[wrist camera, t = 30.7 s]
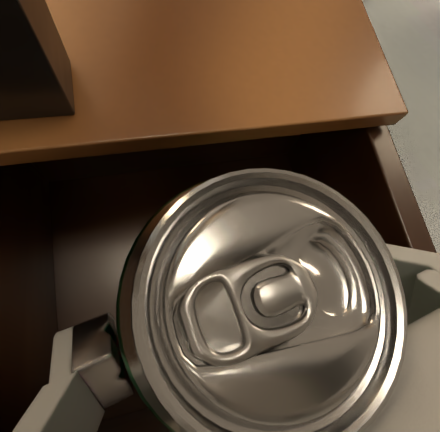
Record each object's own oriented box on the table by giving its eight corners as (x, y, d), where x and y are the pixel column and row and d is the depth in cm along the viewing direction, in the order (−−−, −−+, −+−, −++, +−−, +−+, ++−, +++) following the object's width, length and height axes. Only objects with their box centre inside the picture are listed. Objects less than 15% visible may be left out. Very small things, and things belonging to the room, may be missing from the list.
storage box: (49, 453, 14) (-95, 623, 6) (36, 175, 18) (-67, 74, 10) (355, 366, 17) (500, 412, 10) (291, 146, 21) (359, 53, 13)
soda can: (263, 336, 16) (491, 402, 5) (169, 375, 15) (164, 597, 3) (229, 245, 17) (346, 119, 6) (140, 275, 16) (63, 190, 5)
